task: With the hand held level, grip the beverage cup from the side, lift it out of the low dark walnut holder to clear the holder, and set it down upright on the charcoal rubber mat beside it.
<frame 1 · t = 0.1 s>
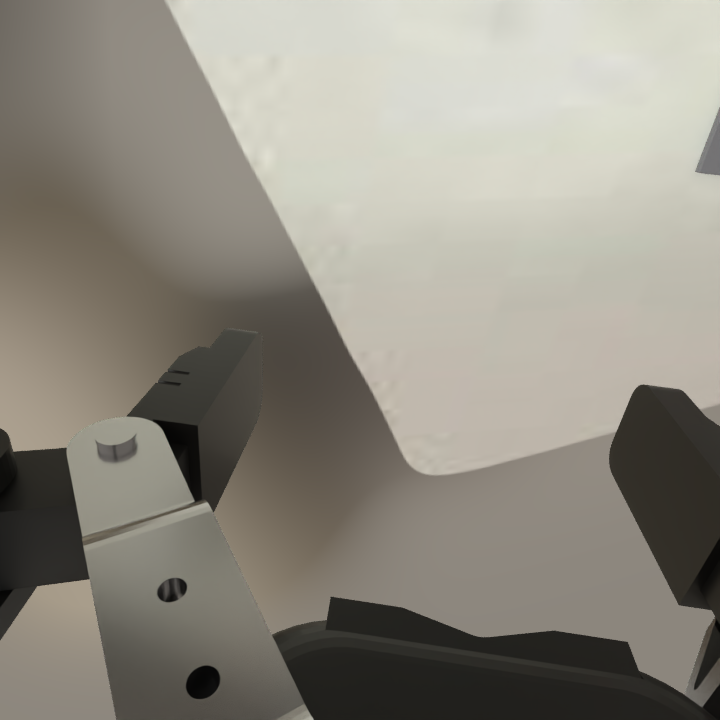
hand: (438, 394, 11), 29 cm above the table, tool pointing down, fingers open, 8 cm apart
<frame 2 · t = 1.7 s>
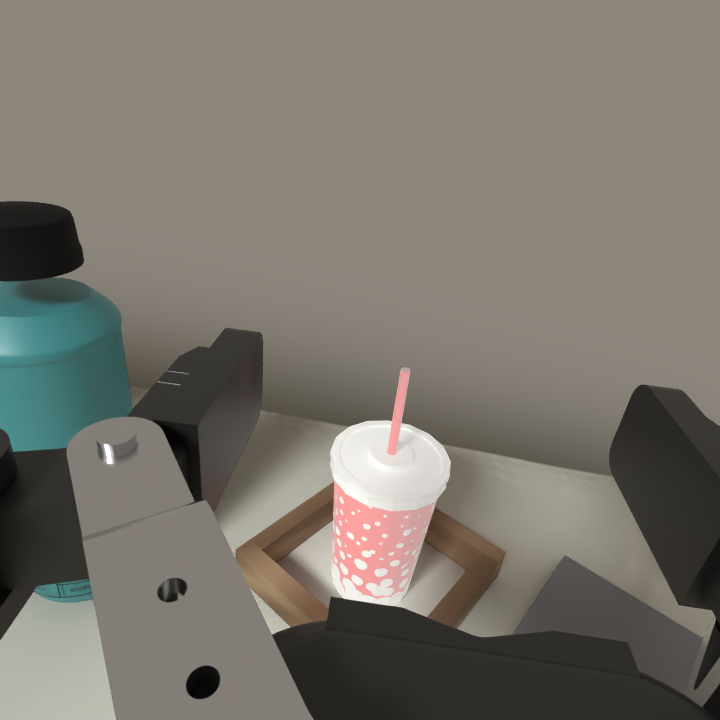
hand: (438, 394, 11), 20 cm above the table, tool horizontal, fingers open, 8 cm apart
beverage bottle: (93, 575, 29), on the table
walnut holder: (370, 574, 30), on the table
rubber mat: (626, 689, 26), on the table
beverage cup: (370, 577, 30), resting in walnut holder
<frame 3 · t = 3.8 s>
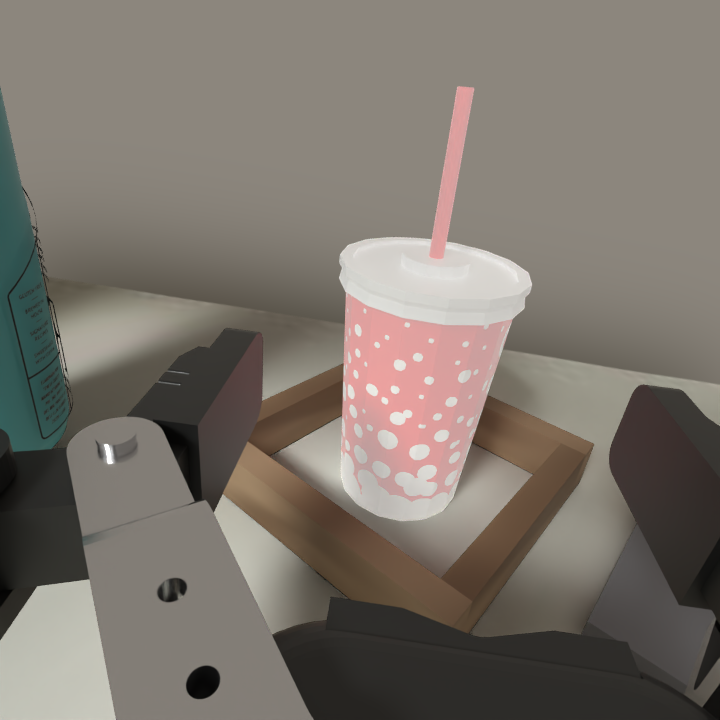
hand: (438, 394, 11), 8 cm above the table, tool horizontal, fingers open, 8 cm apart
walnut holder: (397, 478, 21), on the table
beverage cup: (396, 482, 21), resting in walnut holder
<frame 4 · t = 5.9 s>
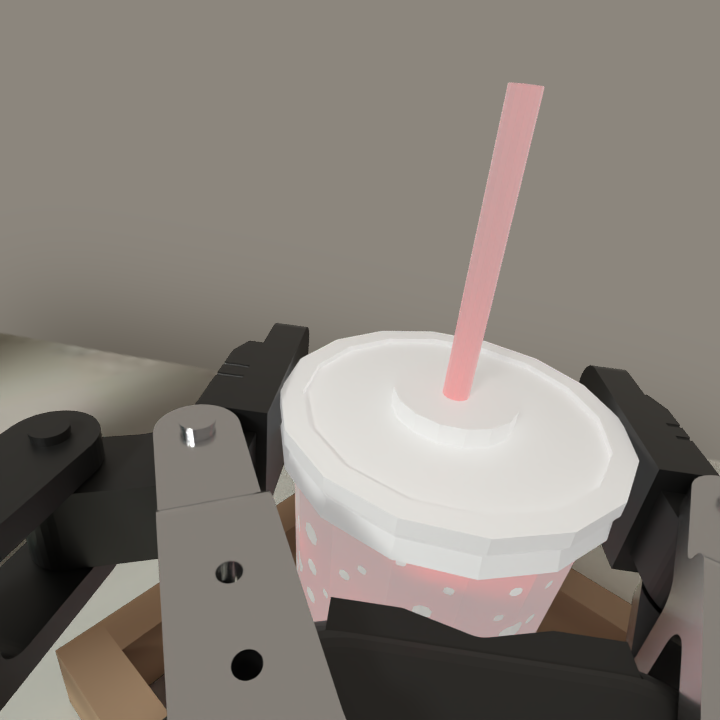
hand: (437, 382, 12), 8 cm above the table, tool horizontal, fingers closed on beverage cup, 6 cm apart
walnut holder: (387, 693, 13), on the table
beverage cup: (386, 698, 13), resting in walnut holder, touching gripper
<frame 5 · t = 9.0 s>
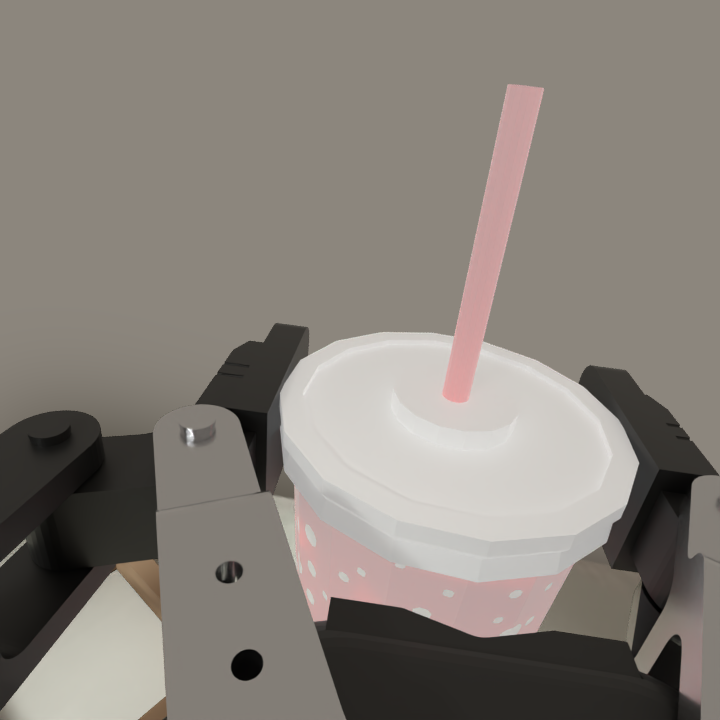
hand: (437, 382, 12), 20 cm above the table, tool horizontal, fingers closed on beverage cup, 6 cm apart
walnut holder: (70, 685, 24), on the table
beverage cup: (386, 699, 13), point 12 cm above the table, touching gripper
when the fingers open (10 cm above the table, at t = 12.0 s): beverage cup stays where it is, resting on rubber mat.
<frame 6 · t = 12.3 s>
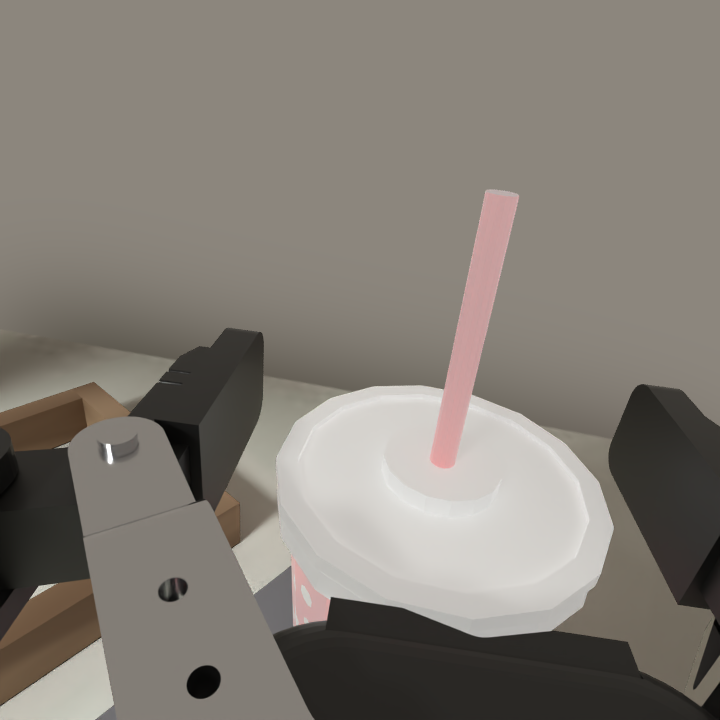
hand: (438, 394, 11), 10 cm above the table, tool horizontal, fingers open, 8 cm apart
walnut holder: (21, 539, 19), on the table
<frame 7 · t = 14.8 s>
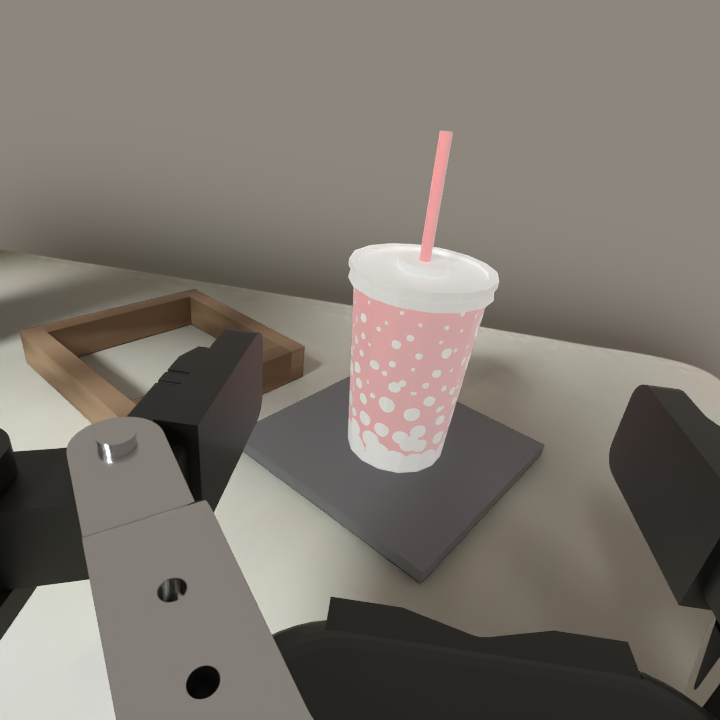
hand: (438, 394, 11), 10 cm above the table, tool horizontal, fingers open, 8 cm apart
walnut holder: (168, 369, 30), on the table
rubber mat: (392, 449, 26), on the table
beverage cup: (394, 444, 25), resting on rubber mat
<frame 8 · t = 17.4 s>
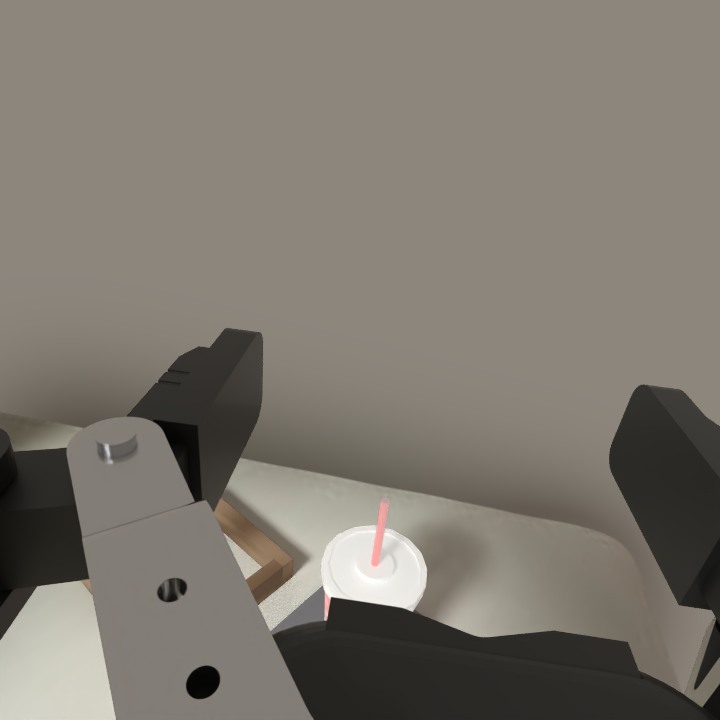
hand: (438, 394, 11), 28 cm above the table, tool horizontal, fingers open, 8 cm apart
walnut holder: (187, 576, 39), on the table
rubber mat: (358, 662, 34), on the table
beverage cup: (358, 661, 34), resting on rubber mat
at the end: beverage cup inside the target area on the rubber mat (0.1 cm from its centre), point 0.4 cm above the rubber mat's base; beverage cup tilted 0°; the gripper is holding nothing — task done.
